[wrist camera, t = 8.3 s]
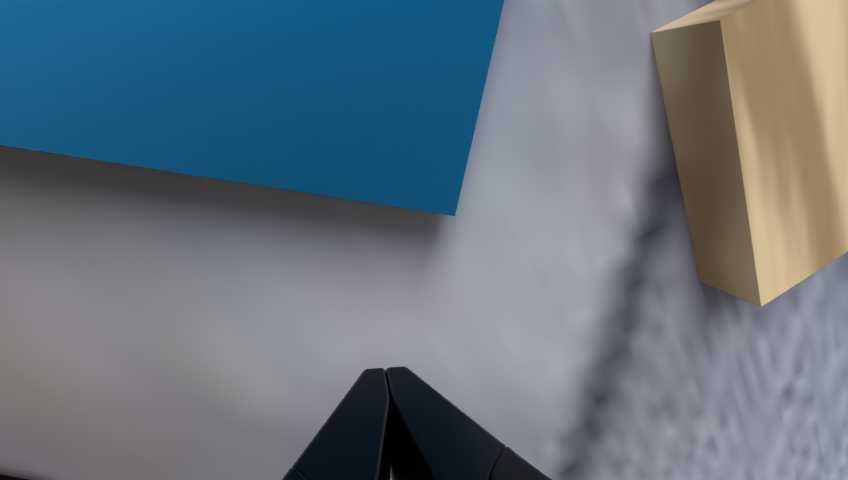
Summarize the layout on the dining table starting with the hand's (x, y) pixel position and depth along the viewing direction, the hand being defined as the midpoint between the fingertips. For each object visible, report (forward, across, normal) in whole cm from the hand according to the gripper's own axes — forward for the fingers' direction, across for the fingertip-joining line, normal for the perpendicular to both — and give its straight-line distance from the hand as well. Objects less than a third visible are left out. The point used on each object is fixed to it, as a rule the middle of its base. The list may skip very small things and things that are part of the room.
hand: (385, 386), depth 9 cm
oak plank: (+12, +16, +1) cm, 20 cm away
